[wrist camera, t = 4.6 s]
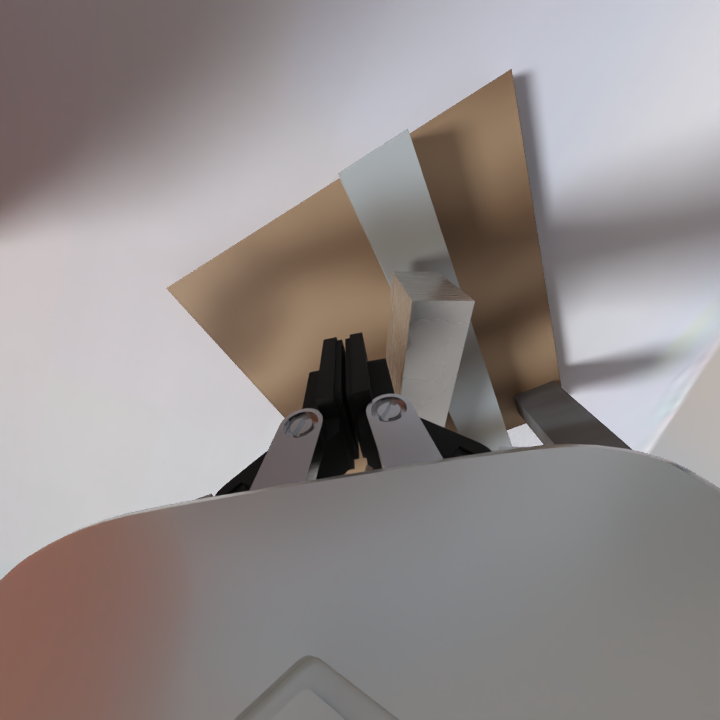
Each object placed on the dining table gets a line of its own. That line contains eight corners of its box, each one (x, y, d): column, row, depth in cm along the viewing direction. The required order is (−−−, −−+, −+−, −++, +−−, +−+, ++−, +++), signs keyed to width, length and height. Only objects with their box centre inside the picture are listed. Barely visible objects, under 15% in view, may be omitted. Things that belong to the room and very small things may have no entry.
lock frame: (552, 397, 23) (664, 503, 15) (349, 474, 27) (351, 592, 19) (494, 81, 13) (751, -119, 5) (179, 281, 17) (26, 358, 9)
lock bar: (411, 484, 20) (429, 559, 16) (364, 485, 20) (369, 563, 16) (451, 269, 12) (507, 306, 8) (373, 268, 12) (388, 306, 8)
